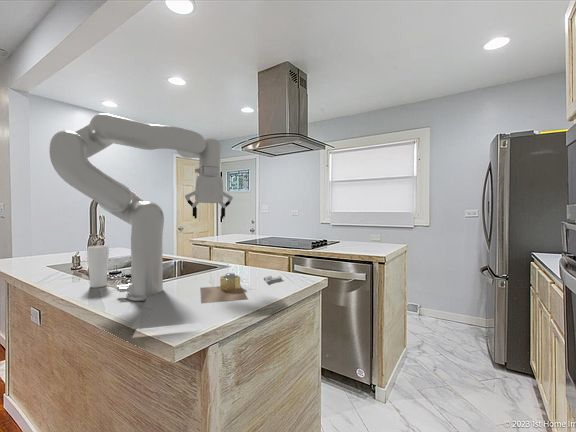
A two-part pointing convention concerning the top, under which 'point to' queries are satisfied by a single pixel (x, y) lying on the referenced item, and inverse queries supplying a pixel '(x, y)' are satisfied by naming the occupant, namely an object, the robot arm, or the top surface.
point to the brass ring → (229, 283)
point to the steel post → (230, 276)
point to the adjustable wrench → (272, 279)
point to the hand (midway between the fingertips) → (208, 218)
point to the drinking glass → (98, 265)
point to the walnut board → (221, 295)
